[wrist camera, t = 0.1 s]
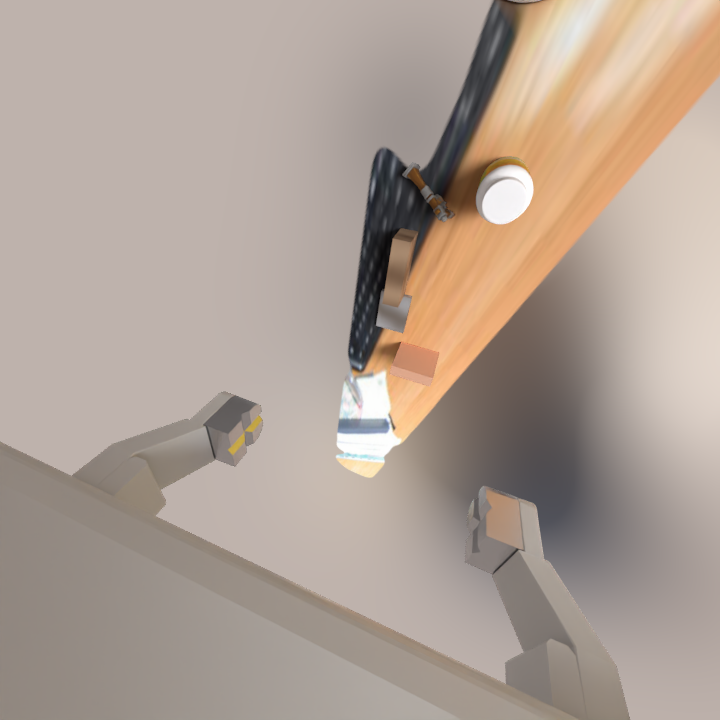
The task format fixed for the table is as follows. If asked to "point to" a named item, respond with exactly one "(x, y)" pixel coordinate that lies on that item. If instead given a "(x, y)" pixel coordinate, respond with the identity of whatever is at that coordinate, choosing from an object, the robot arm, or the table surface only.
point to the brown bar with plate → (397, 283)
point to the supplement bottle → (504, 190)
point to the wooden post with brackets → (428, 193)
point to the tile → (414, 364)
